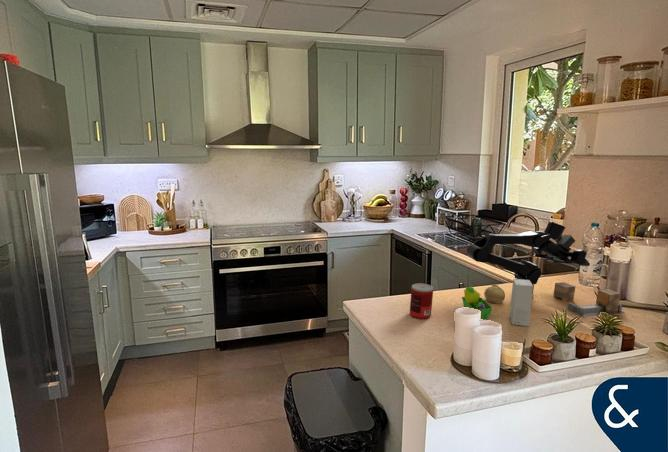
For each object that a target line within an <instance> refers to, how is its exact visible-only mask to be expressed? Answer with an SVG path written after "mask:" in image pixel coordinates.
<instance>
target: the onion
mask: <svg viewBox="0 0 668 452" xmlns="http://www.w3.org/2000/svg"><path fill="white" fill-rule="evenodd" d="M483 294H484V298H485V299H486V302H489V303H491V304H501V303H502V302H504V301H505V298H506V293H505V291H504V289H503V288H501V287H500V286H499V285H498V284H495V283H491V286H488V287H487V288H486V289H485V290H484V293H483Z"/></svg>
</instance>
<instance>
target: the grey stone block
mask: <svg viewBox="0 0 668 452" xmlns="http://www.w3.org/2000/svg"><path fill="white" fill-rule="evenodd" d="M575 292H576V286H575V285H574V284H573V285H572V284H570V283H567V282H564V281H562V282H555V283H554V288H553V298H559V299H561V301H562V302H571V301H574V297H575Z"/></svg>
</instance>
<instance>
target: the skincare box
mask: <svg viewBox="0 0 668 452" xmlns="http://www.w3.org/2000/svg"><path fill="white" fill-rule="evenodd" d="M532 291H533V292H534V289H533V285H532V283H531V282H530V280H522V279H516V278H513V279H512V289H511V299H510V309H509V318H510V322H511V324H512V325H515V326H516V325H517V326H521V327H527V328H529V327H530V320H531V311H532V310H531V309H532V299H533V294H532Z"/></svg>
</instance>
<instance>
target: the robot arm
mask: <svg viewBox="0 0 668 452" xmlns="http://www.w3.org/2000/svg"><path fill="white" fill-rule="evenodd" d="M565 230H566V227H565V226H564V225H562V224H559V223H556V222H554V221H551V220H549V221H548V222H547V226H546V227H545V229H544V231H541V230H538V231H529V230H528V231H523V232H520V233H516V234H515V233H512V234H511V233H487V234H485V235H483V237H482V238H480V239H478V240H476V241H475V242H473V244H471V245H469V246H468V247H467V249H466V256H468V258H470V259H472V260H474V261H475V262H478V263H489V264H490V263H491V264H493V265H497V266H499V267H501V268H505V269H507V270H508V269H509V270H512V271H514V273H513V276H514V279H522V280H530V282H531V283H532V285H533V291H532V295H533V294H534V288H535V285H537V283H538V281H539V279H540V277H541V276H542V269H541V268H540V267H539V265H538V264H537V263H536V264H535V263H533V262H531V261H527V260H526V259H525V260H524V259H521V260H520V262H519V261H515V260H512V259H509V258H507V257H503V256H500V255H498V254H494V253H491V252H492V250H493V248H494V246H496V245H523V246H527V247H531V248H533V252H534V253H535V254H537V255H538V256H539V255H541V254H542V253H544V254H546V255H545V259H546V261H548V262H552V263H559V264H567V265H568V264H572V265H573V266H577V267H579V266H580V267H581V266H582V267H590V265H591V263H590V262H589V261H588V260H587V259H586V257H587V255H588V254H587V251H585V250H583V249H574V250H573V251H571V250H572V248H571V246H572V245H574V244H575V242H576V239H575V238H574V237H573V236H572V235H571V234H563V233H564V231H565Z"/></svg>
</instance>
